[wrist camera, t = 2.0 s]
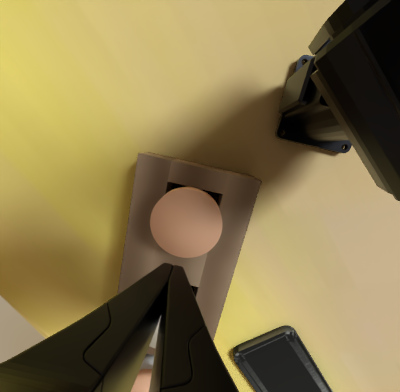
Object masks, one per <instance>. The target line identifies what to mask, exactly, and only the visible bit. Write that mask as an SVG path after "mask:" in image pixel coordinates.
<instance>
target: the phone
mask: <svg viewBox="0 0 400 392" xmlns="http://www.w3.org/2000/svg"><path fill="white" fill-rule="evenodd" d="M233 354H234V360H235V362H236V364H237V365H238V367H239V368H240V370H241V371H242V372H243V374H244V375H245V377H246V378H247V379H248V381H249V382H250V384H251V385H252V386H253V388H254V389H255V391H256V392H333V391H332V390H331V388H330V387H329V385H328V383H327V382H326V380H325V378H324V377H323V375H322V373H321V372H320V370H319V369H318V367H317V365H316V364H315V362H314V360H313V359H312V357H311V355H310V354H309V352H308V351H307V349H306V347H305V346H304V344H303V342H302V341H301V339H300V337H299V336H298V334H297V333H296V331H295V329H294V328H292V327H291V326H281V327H279V328H276V329H274V330H272V331H269V332H267V333H265V334H262V335H260V336H258V337H255V338H253V339H251V340H249V341H246V342H244V343H242V344H239V345H237V346H236V347H235V348H234V350H233Z"/></svg>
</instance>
